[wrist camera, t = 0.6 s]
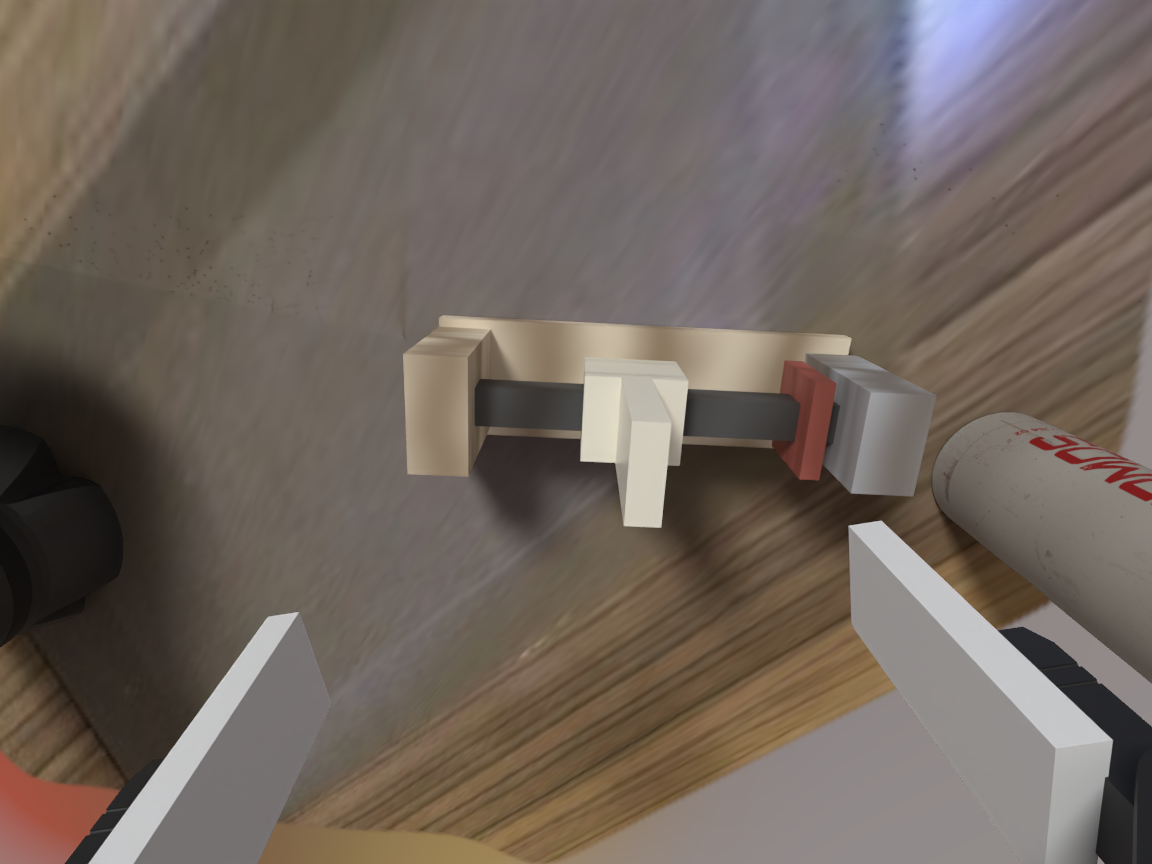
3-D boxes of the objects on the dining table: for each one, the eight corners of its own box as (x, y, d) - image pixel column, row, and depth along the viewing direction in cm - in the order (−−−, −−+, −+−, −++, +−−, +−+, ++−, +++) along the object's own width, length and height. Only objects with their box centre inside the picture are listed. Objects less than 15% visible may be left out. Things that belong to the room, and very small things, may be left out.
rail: (444, 427, 41) (402, 491, 31) (442, 315, 38) (397, 347, 29) (832, 445, 41) (909, 515, 31) (853, 335, 39) (941, 374, 29)
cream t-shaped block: (580, 433, 37) (580, 523, 26) (584, 357, 35) (586, 419, 24) (668, 437, 37) (704, 529, 26) (675, 361, 35) (717, 425, 24)
